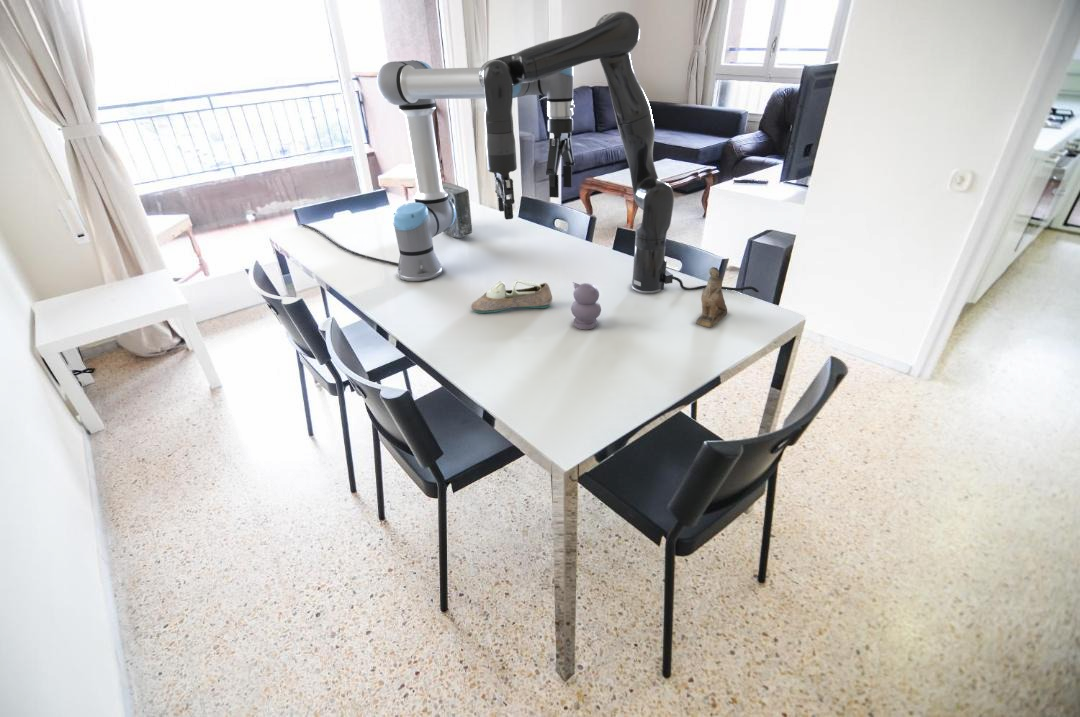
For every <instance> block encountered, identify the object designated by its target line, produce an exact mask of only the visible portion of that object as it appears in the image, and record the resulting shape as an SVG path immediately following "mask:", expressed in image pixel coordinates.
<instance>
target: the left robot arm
mask: <svg viewBox="0 0 1080 717" xmlns="http://www.w3.org/2000/svg"><path fill="white" fill-rule="evenodd" d="M480 69H481V67H451V68H450V67H449V68H448V67H447V68H446V67H445V68H442V67H441V68H433V67H432V66H430V64H429V63H427V62H424V61H421V60H416V59H415V60H414V59H412V60H398V61H397V60H395V61H389V62H387V63H385V64H383V65H382V66H381V67H380V69H379V70H378V72H377V76H376V85H377V90H378V92H379V93H380V95H381V97H382V98H383V99H384V100H385V101H386V102H388V103H390V104H392V105H395V106H398V110H399V112H400V113H401V114H403V115H404V117H405V118H404V119H405V123H406V128H407V135H408V142H409V147H410V152H411V158H412V159H411V160H412V165H413V171H414V177H415V183H416V187H417V188H416V189H417V192H416V193H415V195H414V202H409V203H407V204H406V203H404V204H402V205H400V206H398V207H396V208H395V209H394V210H393V213H392V219H393V221H392V224H393V227H394V230H395V231H394V232H395V236H396V242H397V247H398V251H399V259H398V262H395V261H390V260H386V259H381V258H376V257H373V256H369V255H366V254H362V253H359V252H356V251H354V250H351V249H349V248H346V247H344V246H342V245H341V244H340V243H337V241H335V240H333V239H332V238H331V237H330V236H328V235H326V234H325V233H324V232H322V230H321V231H320V230H319V229H317V228H315V227H313V226H311V225H308V224H306V223H301V226H303V227H306V228H308V229H311V230H313V231H315V232H317V233H318V234H320V235H322V236H324V237H325V239H327V240H329V242H331V243H333V244H334V245H335V246H337V247H339V248H340V249H342V250H344V251H345V252H348V253H351V254H353V255H356V256H359V257H362V258H365V259H368V260H373V261H376V262H380V263H386V264H390V265H395V266H397V276H398V278H399V279H400V280H402V281H406V282H413V283H414V282H425V281H429V280H432V279H435V278H438V277H439V276H440V275H441V274H442V273H443V268H442V264H441V263H440V260H439V259H438V256H437V254H436V252H435V250H434V243H433V238H435V237H436V236H438V235H440V234H441V233H444V231H446V230H447V229H448V228H449V227H451V226H452V225H453V223H454V221H455V218H456V210H455V206H454V204H453V203H452V202H451V200H450V199H448V194H447V193H446V192H445V191H444V190H443V189H442V182H443V181H442V176H441V168H440V162H439V155H438V147H437V141H436V140H437V139H436V132H435V127H434V120H433V113H434V112H435V110H436V108H437V107H436V106H437V105H436V100H443V99H444V100H461V99H462V100H467V99H469V100H471V99H473V100H474V99H475V100H476V99H477V100H479V99H480V100H482V99H484V100H485V90H484V88H483V87H482V86H481V84H480V81H479V71H480ZM574 76H575V74H574V67H571V68H568V69H566V70H563V71H561V72H558V73H556V74H553V75H550V76H548V77H545V78H542V79H539V80H536V81H533V82H529V83H521V84H518V85H516V86H513V99H515V98H521V97H526V96H537V95H538V96H546V97H547V98H546V108H547V109H546V112H547V113H546V114H547V117H548V119H547V132H548V133H549V134H553V137H552V138H551V137H550V138H549V140H548V142H549V143H548V153H547V163H546V168H545V169H546V170H545V175H546V176H548V182H549V183H548V186H549V190H548V193H549V198H556V199H557V198H558V199H559V197H560V194H559V193H560V190H559V189H560V188H559V187H560V186H559V185H560V182H559V181H560V180H559V174H558V172H559V168H560V162H561V158H562V163H563V166H562V187H563V188H573V166H575V165H576V162H575V157H574V156H575V155H574V150H573V149H574V148H573V141H572V132H573V131H574V118H573V116H574V109H575V107H576V105H575V104H574ZM441 181H442V182H441Z"/></svg>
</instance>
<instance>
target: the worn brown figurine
mask: <svg viewBox="0 0 1080 717" xmlns="http://www.w3.org/2000/svg"><path fill="white" fill-rule="evenodd" d="M708 273H709V275H710V276H709V278H708V279H707V280H708V281H707V284H706V285H707V287H705V288H702V289H703V290H702V292H701V297H700V298H701V309H702V312H701V315H700V316H699V317H698V318H697V319H696V321H695V324H696V325H699V326H703V327H705V328H712V327H714V326H715V325H716V324H717V323H719V321H721V320H722V319H723V318H725V317H726V316H727V315H728V307H727V304H726V301H725V298H724V293H723V289H721V288H722V286H723V281H722V279H721V278H720V270H719V269H718V268H717V267H715V266H712V267H711V268H710V269H709V270H708Z"/></svg>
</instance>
